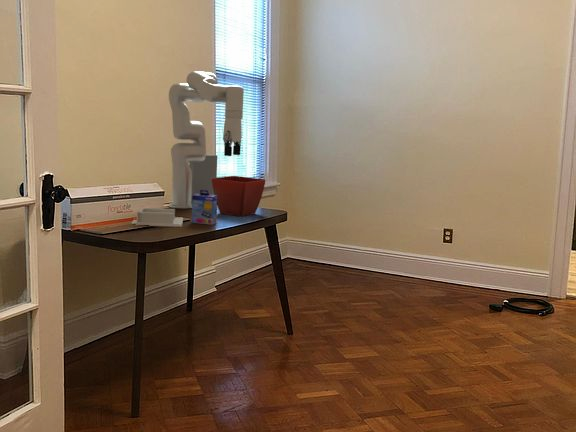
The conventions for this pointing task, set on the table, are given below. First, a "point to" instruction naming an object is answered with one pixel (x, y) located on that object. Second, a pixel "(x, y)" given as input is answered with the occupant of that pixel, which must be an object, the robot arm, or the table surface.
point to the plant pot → (238, 194)
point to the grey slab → (203, 174)
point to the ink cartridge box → (204, 208)
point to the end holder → (158, 217)
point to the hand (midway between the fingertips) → (232, 155)
